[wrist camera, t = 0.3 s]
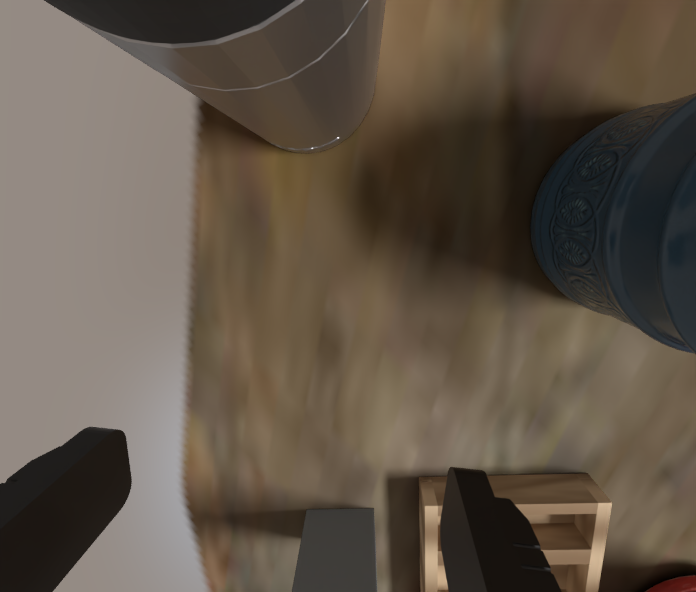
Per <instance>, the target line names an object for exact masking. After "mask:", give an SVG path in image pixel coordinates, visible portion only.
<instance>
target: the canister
mask: <svg viewBox="0 0 696 592" xmlns="http://www.w3.org/2000/svg"><path fill="white" fill-rule="evenodd" d="M530 233H531V242H532V247H533V251H534V254H535V257H536V260H537V262H538V264H539V266H540V268H541V269H542V271H543V272H544V274H545V275H546V277H547V278H548V279H549V280H550V281H551V282H552V283H553V284H554V285H555V286H556V288H557V289H558V290H560V291H561V292H562V293H563V294H564V295H565V296H567V297H568V298H569V299H571V300H572V301H574V302H576V303H578V304H580V305H582V306H584V307H586V308H588V309H590V310H592V311H595V312H598V313H601V314H605V315H609V316H612V317H614V318H616V319H618V320H621V321H623V322H625V323H627V324H629V325H631V326H634V327H636V328H638V329H640V330H641V331H642V332H643V333H645V334H646V335H648V336H649V337H651V338H653V339H654V340H656V341H658V342H660V343H662V344H664V345H667V346H669V347H672V348H675V349H677V350H681V351H685V352H689V353H695V354H696V93H695V94H692V95H689V96H686V97H683V98H679V99H676V100H673V101H670V102H667V103H660V104H653V105H649V106H644V107H641V108H638V109H635V110H632V111H629V112H626V113H623V114H621V115H618V116H616V117H614V118H611V119H609V120H607V121H605V122H604V123H602V124H600V125H599V126H597V127H595V128H594V129H592V130H591V131H589V132H588V133H587V134H586V135H584V136H583V137H581V138H580V139H578V140H577V141H576V142H574V143H573V144H572V145H571V146H570V147H569V148H568V149H566V150H565V151H564V153H563V154H562V155H561V156H560V157H559V158H558V159H557V160H556V161H555V163H554V164H553V165H552V167H551V168H550V170H549V171H548V173H547V174H546V176H545V178H544V179H543V181H542V183H541V185H540V188H539V190H538V192H537V195H536V198H535V201H534V204H533V209H532V215H531V225H530Z"/></svg>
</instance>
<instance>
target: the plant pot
mask: <svg viewBox="0 0 696 592" xmlns="http://www.w3.org/2000/svg"><path fill="white" fill-rule="evenodd" d="M645 592H696V575H694V574H693V575H689V576H683V577H678V578H673V579H670V580H667V581H664V582H661V583H659V584H657V585H655V586H653V587H651V588H650V589H648V590H647V591H645Z"/></svg>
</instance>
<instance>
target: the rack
mask: <svg viewBox="0 0 696 592" xmlns="http://www.w3.org/2000/svg"><path fill="white" fill-rule="evenodd" d="M487 477H488V480H489V483H490V485H491V488H492V490H493V493H494V496H495V497H498V498H507V499H510V500H511V501H512V502H513V503H514V504H515V505H516V507H517V508H518V509H519V510H520V511H521V512H522V513H523V514H524V516H525V517H526V518H527V519H528V520H529V522H530V524H531V526H532V528H533V531H534V533H535V535H536V537H537V539H538V541H539V544H540V548H541V551H543V552H544V554H545V557H546V559H547V561H548V563H549V565H550V567H551V573H552V574H554V576H555V578H556V580H557V583H558V585H559V587H560V589H561V591H562V592H598V589H599V582H600V576H601V570H602V564H603V557H604V551H605V545H606V538H607V532H608V526H609V519H610V513H611V507H612V502H611V501H610V500H609V498H608V497H607V496H606V495H605V494H604V492H603V491H602V490H601V489H600V488H599V486H598V485H597V484H596V483H595V482H594V480H593V479H592V478H591V477H590V475H589V474H588V473H580V474H535V475H489V476H487ZM446 482H447V476H443V477H419V530H420V592H449V591H448V585H447V579H446V573H445V568H444V562H443V556H442V550H441V542H440V520H441V513H442V506H443V500H444V494H445V488H446Z"/></svg>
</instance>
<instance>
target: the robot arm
mask: <svg viewBox="0 0 696 592" xmlns="http://www.w3.org/2000/svg"><path fill="white" fill-rule="evenodd" d="M44 1H46V2H48V3H49V4H51V5H52V6H54V7H56V8H57V9H59V10H61V11H63V12H65V13H66V14H68V15H69V16H71V17H73V18H74V19H76V20H77V21H79V22H80V23H82V24H83V25H85V26H87V27H88V28H90V29H91V30H93V31H95V32H96V33H98V34H99V35H101V36H102V37H104V38H106V39H107V40H109V41H110V42H112V43H113V44H115V45H117V46H118V47H120V48H121V49H123V50H124V51H126V52H128V53H129V54H131V55H133V56H134V57H136V58H137V59H139V60H140V61H142V62H143V63H145V64H147V65H148V66H150V67H151V68H153V69H154V70H156V71H158V72H160V73H161V74H163V75H165V76H166V77H168V78H169V79H171V80H172V81H174V82H176V83H177V84H179V85H180V86H182V87H183V88H185V89H187V90H188V91H190V92H191V93H193V94H194V95H196V96H197V97H199V98H201V99H202V100H204V101H205V102H207V103H208V104H210V105H211V106H213V107H215V108H216V109H218V110H219V111H221V112H222V113H224V114H226V115H227V116H229V117H230V118H232V119H233V120H235V121H237V122H238V123H240V124H241V125H243V126H244V127H246V128H247V129H249V130H251V131H252V132H254V133H255V134H257V135H258V136H260V137H262V138H263V139H265V140H266V141H268V142H270V143H271V144H272V145H275V146H277V147H279V148H281V149H284V150H287V151H291V152H295V153H315V152H321V151H325V150H327V149H330V148H332V147H334V146H337V145H339V144H340V143H341V142H343V141H344V140H345V139H347V138H348V137H350V136H351V134H352V133H353V132H354V131H355V130H356V129H357V128H358V127H359V126H360V124H361V123H362V121H363V119H364V117H365V116H366V114H367V112H368V110H369V107H370V105H371V102H372V99H373V96H374V90H375V83H376V75H377V68H378V62H379V53H380V45H381V36H382V28H383V19H384V11H385V2H386V0H44ZM131 482H132V481H131V472H130V465H129V457H128V449H127V442H126V436H125V434H124V432H123V431H121V430H116V429H107V428H97V427H88V428H85V429H83V430H82V431H80V432H79V433H78V434H77V435H75V436H74V437H73V438H72V439H70V440H69V441H68V442H66V443H65V444H64V445H63V446H61V447H58V448H56V449H54V450H52V451H50V452H48V453H46V454H44V455H42V456H40V457H38V458H36V459H34V460H32V461H30V462H29V463H28V464H27V465H25V466H24V467H23V468H21V469H20V470H19V471H17V472H16V473H15V474H13V475H12V476H11V477H9V478H8V479H7V481H6V483H1V484H0V592H53V590H54V589H55V588H56V587H57V586H58V584H59V583H60V582H61V581H62V580H63V578H64V577H65V576H66V574H68V572H69V571H70V570H71V569H72V568H73V566H74V565H75V564H76V563H77V561H78V560H79V559H80V558H81V557H82V555H83V554H84V553H85V552H86V551H87V549H88V548H89V547H90V546H91V545H92V543H93V542H94V541H95V540H96V539H97V537H98V536H99V535H100V534H101V533H102V531H103V530H104V529H105V528H106V526H107V525H108V524H109V523H110V522H111V521H112V519H113V518H114V517H115V516H116V515H117V513H118V512H119V511H120V510H121V508H122V507H123V505H124V504H125V502H126V500H127V498H128V495H129V493H130V489H131ZM440 542H441V550H442V556H443V562H444V568H445V573H446V579H447V585H448V591H449V592H562V591H561V589H560V587H559V585H558V583H557V580H556V578H555V576H554V574H552V573H551V567H550V565H549V563H548V561H547V559H546V557H545V554H544V552H543V551H541V548H540V544H539V541H538V539H537V537H536V535H535V533H534V531H533V528H532V526H531V524H530V522H529V520H528V519H527V518H526V517H525V516H524V514H523V513H522V512H521V511H520V510H519V509H518V508H517V507H516V505H515V504H514V503H513V502H512V501H511V500H510V499H507V498H498V497H495V496H494V493H493V490H492V488H491V485H490V483H489V480H488V477H487V475H486V473H485V472H484V471H482V470H473V469H464V468H455V467H450V469H449V471H448V476H447V482H446V488H445V494H444V500H443V506H442V513H441V520H440Z"/></svg>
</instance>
